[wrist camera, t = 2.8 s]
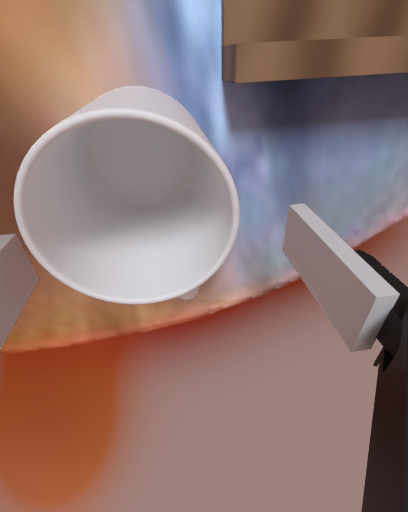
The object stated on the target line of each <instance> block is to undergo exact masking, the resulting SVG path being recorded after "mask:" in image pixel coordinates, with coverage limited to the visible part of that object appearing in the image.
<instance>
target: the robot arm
mask: <svg viewBox="0 0 408 512" xmlns="http://www.w3.org/2000/svg"><path fill="white" fill-rule="evenodd" d="M283 252H284V253H285V255H286V256H287V258H288V259H289V261H290V262H291V264H292V265H293V267H294V268H295V269H296V271H297V272H298V274H299V275H300V277H301V278H302V280H303V281H304V283H305V284H306V286H307V287H308V289H309V290H310V292H311V293H312V295H313V296H314V297H315V299H316V300H317V302H318V303H319V305H320V306H321V308H322V309H323V311H324V312H325V314H326V315H327V317H328V318H329V320H330V321H331V323H332V324H333V326H334V327H335V329H336V330H337V332H338V333H339V335H340V336H341V338H342V339H343V341H344V342H345V344H346V345H347V346H348V348H349V349H350V351H351V352H354V351H360V350H367V349H371V348H372V346H373V344H374V342H375V340H376V338H377V339H378V340H379V342H380V343H381V344H382V345H383V348H382V350H381V352H380V354H379V355H378V357H377V359H376V360H375V362H374V366H377V365H378V363H379V369H378V377H377V385H376V394H375V402H374V411H373V419H372V428H371V436H370V445H369V453H368V462H367V470H366V479H365V487H364V496H363V505H362V512H408V287H407V286H405V285H404V284H403V283H402V282H401V281H400V280H399V279H397V278H396V277H395V276H394V275H393V274H392V273H389V271H388V270H387V269H386V268H385V267H384V266H382V265H381V263H379V262H378V261H377V260H376V259H375V258H374V257H373V256H371V255H369V254H367V253H365V252H363V251H361V250H353V249H352V248H351V247H350V246H348V245H347V244H346V243H345V242H344V241H343V240H342V239H341V238H340V237H339V236H338V235H337V234H336V233H335V232H334V231H333V230H332V229H330V228H329V227H328V226H327V225H326V224H325V223H324V222H323V221H322V220H321V219H320V218H319V217H318V216H317V215H316V214H315V213H313V212H312V211H311V210H310V209H309V208H308V207H307V206H306V205H305V204H295V205H289V211H288V218H287V224H286V230H285V237H284V243H283ZM38 281H39V277H38V275H37V273H36V271H35V269H34V267H33V265H32V264H31V262H30V260H29V258H28V256H27V254H26V252H25V250H24V249H23V247H22V245H21V243H20V241H19V239H18V237H17V235H16V234H6V235H0V350H1V348H2V346H3V344H4V342H5V341H6V339H7V337H8V335H9V333H10V332H11V330H12V328H13V326H14V324H15V323H16V321H17V319H18V317H19V315H20V314H21V312H22V310H23V308H24V306H25V305H26V303H27V301H28V299H29V297H30V296H31V294H32V292H33V290H34V288H35V287H36V285H37V283H38Z"/></svg>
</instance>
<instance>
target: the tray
mask: <svg viewBox="0 0 408 512" xmlns="http://www.w3.org/2000/svg"><path fill="white" fill-rule="evenodd" d="M406 72H408V0H222V79H223V80H226V81H230V82H233V83H245V82H261V81H277V80H293V79H309V78H325V77H341V76H358V75H374V74H390V73H406Z"/></svg>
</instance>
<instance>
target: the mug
mask: <svg viewBox="0 0 408 512" xmlns="http://www.w3.org/2000/svg"><path fill="white" fill-rule="evenodd" d="M14 210H15V218H16V221H17V225H18V228H19V231H20V233H21V236H22V238H23V240H24V242H25V244H26V245H27V247H28V249H29V250H30V252H31V253H32V255H33V256H34V257H35V258H36V260H37V261H38V262H39V263H40V264H41V266H43V267H44V268H45V269H46V270H47V271H48V272H49V273H50V274H51V275H52V276H54V277H55V278H56V279H58V280H59V281H60V282H62V283H63V284H65V285H67V286H68V287H70V288H72V289H74V290H76V291H78V292H80V293H82V294H84V295H87V296H90V297H93V298H95V299H99V300H103V301H107V302H112V303H118V304H130V305H134V304H151V303H157V302H163V301H167V300H170V299H174V298H179V299H182V300H192V299H193V298H195V297H196V296H197V294H198V293H199V290H200V285H202V284H203V283H205V282H206V281H207V280H208V279H209V278H210V277H212V276H213V275H214V274H215V273H216V272H217V270H218V269H219V268H220V267H221V266H222V264H223V263H224V262H225V260H226V259H227V257H228V255H229V253H230V252H231V250H232V247H233V245H234V242H235V240H236V236H237V232H238V227H239V217H240V212H239V200H238V195H237V190H236V187H235V184H234V181H233V179H232V176H231V175H230V173H229V171H228V169H227V167H226V165H225V164H224V162H223V161H222V159H221V158H220V156H219V155H218V153H217V152H216V150H215V149H214V148H213V146H212V145H211V143H210V142H209V140H208V139H207V137H206V136H205V134H204V133H203V132H202V130H201V129H200V127H199V126H198V124H197V123H196V121H195V120H194V119H193V117H192V116H191V114H190V113H189V112H188V111H187V110H186V109H185V108H184V107H183V106H182V105H181V104H180V103H179V102H178V101H176V100H175V99H174V98H172V97H170V96H169V95H167V94H165V93H163V92H161V91H159V90H156V89H152V88H149V87H142V86H126V87H120V88H117V89H114V90H110V91H108V92H106V93H105V94H103V95H101V96H99V97H98V98H96V99H95V100H93V101H92V102H90V103H88V104H87V105H85V106H84V107H82V108H81V109H79V110H78V111H76V112H75V113H73V114H72V115H70V116H69V117H67V118H66V119H64V120H63V121H61V122H59V123H58V124H56V125H55V126H54V127H52V128H51V129H50V130H48V131H47V132H46V133H44V134H43V135H42V136H41V137H40V138H39V139H38V140H37V141H36V142H35V143H34V144H33V146H32V147H31V148H30V150H29V151H28V153H27V154H26V156H25V157H24V159H23V161H22V163H21V166H20V168H19V171H18V173H17V177H16V182H15V186H14Z"/></svg>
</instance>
